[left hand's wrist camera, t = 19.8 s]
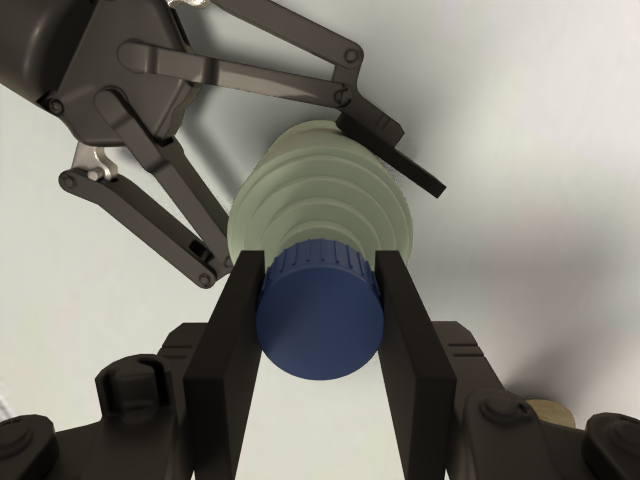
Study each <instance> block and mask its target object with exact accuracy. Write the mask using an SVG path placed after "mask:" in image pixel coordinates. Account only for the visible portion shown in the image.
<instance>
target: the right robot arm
mask: <svg viewBox="0 0 640 480" xmlns="http://www.w3.org/2000/svg"><path fill="white" fill-rule="evenodd" d="M210 2H212V3H214V4H215V5H217V6H218V7H220V8H221V9H222V10H224V11H226V12H228V13H229V14H231V15H233V16H235V17H237V18H239V19H241V20H243V21H246V22H248V23H250V24H252V25H254V26H256V27H258V28H260V29H262V30H264V31H266V32H268V33H270V34H272V35H274V36H276V37H278V38H280V39H282V40H284V41H287V42H289V43H291V44H293V45H295V46H297V47H299V48H301V49H303V50H305V51H307V52H309V53H311V54H313V55H315V56H317V57H319V58H321V59H323V60H325V61H328V62H330V63H332V64H334V65H335V68H334V72H333V76H332V80H331V81H327V80H322V79H317V78H311V77H306V76H301V75H296V74H291V73H286V72H281V71H276V70H271V69H266V68H261V67H256V66H251V65H246V64H241V63H236V62H231V61H226V60H221V59H216V58H211V57H205V56H200V55H195V54H194V53H193V50H192V48H191V46H190V43H189V41H188V39H187V36H186V34H185V31H184V29H183V27H182V24H181V22H180V19H179V17H178V15H177V12H176V10H175V8H176V7H177V6H178V5H180V4H184V3H186V4H189V5H191V6H193V7H195V8H197V9H203V8H205V7H206V6H207V5H208V4H209V3H210ZM363 58H364V54H363V50H362V48H361V46H359V45H358V44H357V43H355V42H353V41H351V40H349V39H347V38H345V37H343V36H341V35H339V34H337V33H335V32H333V31H331V30H329V29H327V28H325V27H323V26H321V25H319V24H317V23H315V22H313V21H311V20H309V19H307V18H305V17H303V16H301V15H299V14H297V13H295V12H293V11H291V10H289V9H287V8H285V7H283V6H281V5H279V4H277V3H275V2H273V1H271V0H0V83H1V84H2V85H4V86H6V87H7V88H9V89H10V90H12V91H14V92H15V93H17V94H18V95H20V96H22V97H23V98H25V99H26V100H28V101H30V102H31V103H33V104H34V105H36V106H38V107H40V108H41V109H43V110H45V111H47V112H49V113H51V114H53V115H54V116H56V117H58V118H59V119H60V120H61V121H62V122H63V123H64V124H65V125H66V126H67V127H68V128H69V130H70V131H71V133H72V134H73V136H74V137H75V138H76V139H77V140H78V144H77V148H76V152H75V155H74V159H73V163H72V167H71V169H69V170H66V171H64V172H62V173H61V174H60V176H59V184H60V186H61V187H62V189H63V190H65V191H66V192H68V193H71V194H73V195H76V196H78V197H81V198H83V199H85V200H88V201H90V202H93V203H95V204H98V205H99V206H100V207H102V208H103V209H104V210H105V211H107V212H108V213H109V214H110V215H111V216H113V217H114V218H115V219H116V220H118V221H119V222H120V223H121V224H122V225H124V226H125V227H126V228H127V229H129V230H130V231H131V232H132V233H134V234H135V235H136V236H137V237H138V238H140V239H141V240H142V241H143V242H145V243H146V244H147V245H148V246H149V247H151V248H152V249H153V250H154V251H156V252H157V253H158V254H159V255H161V256H162V257H163V258H164V259H165V260H167V261H168V262H169V263H170V264H172V265H173V266H174V267H175V268H176V269H178V270H179V271H180V272H181V273H183V274H184V275H185V276H186V277H188V278H189V279H190V280H191V281H192V282H194V283H195V284H196V285H197V286H199V287H201V288H204V289H208V288H211V287H212V286H213V285H214V284H215V282H216V281H218V280H219V279H221V278H222V277H224V276H225V275H227V274H229V273H231V271H232V269H233V267H234V265H233V262H232V260H231V257H230V253H229V248H228V240H227V227H228V219H229V216H228V215H227V213H226V212H225V211H224V209H223V208H222V206H221V205H220V204H219V202H218V201H217V199H216V198H215V197H214V195H213V194H212V193H211V191H210V190H209V188H208V187H207V186H206V184H205V183H204V181H203V180H202V179H201V177H200V176H199V174H198V173H197V172H196V170H195V169H194V168H193V166H192V165H191V163H190V162H189V161H188V159H187V158H186V156H185V154H184V150H183V148H182V146H181V145H180V143H179V142H178V140H177V139H176V138H175V136H174V135H175V134H176V133H177V131H178V129H179V127H180V125H181V124H182V120H183V116H184V111H185V109H186V107H187V106H188V105H189V104H191V103H192V102H193V101H194V100H195V99H196V97H197V95H198V93H199V92H200V90H201V88H202V86H201V85H200V83H204V84H211V85H217V86H222V87H228V88H233V89H238V90H243V91H248V92H253V93H259V94H264V95H269V96H274V97H279V98H284V99H289V100H295V101H300V102H305V103H310V104H315V105H320V106H325V107H331V108H336V109H338V110H339V111H341V112H342V113H341V114H340V116H339V117H338V119H337V120H336V122H335V123H336V126H337V128H338V129H340V130H341V131H343V132H344V133H346V134H347V135H348V136H350V137H351V138H353V139H354V140H355V141H357V142H358V143H360V144H361V145H363V146H364V147H365V148H367V149H368V150H370V151H371V152H372V153H374V154H375V155H377V156H378V157H379V158H381V159H382V160H384V161H385V162H386V163H388V164H389V165H391V166H392V167H393V168H395V169H396V170H398V171H399V172H401V173H402V174H403V175H405V176H406V177H408V178H409V179H410V180H412V181H413V182H415V183H416V184H417V185H419V186H420V187H422V188H423V189H424V190H426V191H427V192H429V193H430V194H432V195H433V196H434V197H436V198H437V199H438V197H439V196H440V195H441V194H442V192H443V191H444V190H445V189H446V186H445V185H443V184H442V183H441V182H440V181H439V180H438V179H436V178H435V177H434V176H433V175H431V174H430V173H429V172H427V171H426V170H424V169H423V168H422V167H420V166H419V165H417V164H416V163H415V162H413V161H412V160H411V159H409V158H408V157H406V156H405V155H404V154H402V153H401V152H399V151H398V150H397V149H395V148H394V147H395V146H396V144H397V143H398V142H399V140H400V139H401V138H402V136H403V135H404V134H405V133H404V131H403V129H402V127H401V126H400V124H399V123H397V122H396V121H395V120H393V119H392V118H390V117H389V116H388V115H386V114H385V113H384V112H382V111H381V110H380V109H378V108H377V107H376V106H374V105H373V104H371V103H370V102H369V101H367V100H366V99H365V98H363V97H362V96H361V95H360V93H359V92H358V89H357V78H358V74H359V71H360V67H361V63H362V62H363ZM104 147H127V148H128V149H129V150H130V152H131V153H132V154H133V155H134V157H135V158H136V159H137V161H138V162H139V163H140V165H141V166H142V167H143V168H144V169H145V170H146V171H147V172H149V173H151V174H152V175H153V176H154V177H155V178H156V179H157V181H158V182H159V183H160V185H161V186H162V187H163V189H164V190H165V191H166V193H167V194H168V195H169V196H170V198H171V199H172V200H173V202H174V203H175V204H176V206H177V207H178V208H179V210H180V211H181V212H182V214H183V215H184V216H185V218H186V219H187V220H188V222H189V223H190V224H191V226H192V227H193V228H194V230H195V231H196V232H197V234H198V235H199V236H200V238H201V239H202V240H203V241H202V240H201V239H199V238H198V237H197V236H196V235H195V234H194V233H192V232H191V231H190V230H189V229H188V228H187V227H185V226H184V225H183V224H182V223H181V222H179V221H178V220H177V219H176V218H175V217H174V216H172V215H171V214H170V213H169V212H168V211H166V210H165V209H164V208H163V207H162V206H161V205H159V204H158V203H157V202H156V201H155V200H154V199H152V198H151V197H150V196H149V195H148V194H146V193H145V192H144V191H143V190H142V189H141V188H139V187H138V186H137V185H136V184H134V183H133V182H132V181H131V180H129V179H127V178H126V177H124V176H123V175H120V174H118V167H117V165H116V164H115V163H113V162H112V161H111V160H109V159H108V158H107V156H106V155H105V152H104Z"/></svg>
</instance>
